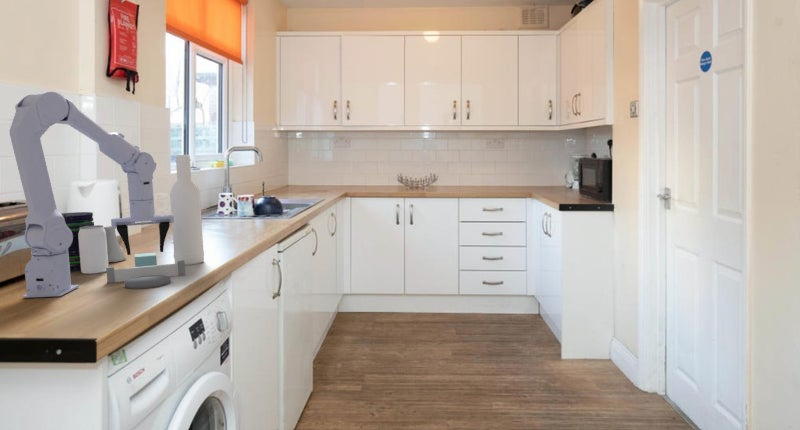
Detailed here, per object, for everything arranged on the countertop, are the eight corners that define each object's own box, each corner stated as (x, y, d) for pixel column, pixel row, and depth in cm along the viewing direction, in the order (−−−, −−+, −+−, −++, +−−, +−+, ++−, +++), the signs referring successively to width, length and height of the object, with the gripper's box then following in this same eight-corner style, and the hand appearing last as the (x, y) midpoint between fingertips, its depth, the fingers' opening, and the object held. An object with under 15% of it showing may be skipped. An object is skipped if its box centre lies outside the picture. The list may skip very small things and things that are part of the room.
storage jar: (74, 265, 170) (70, 212, 168) (105, 265, 168) (101, 212, 166) (47, 272, 160) (42, 216, 159) (79, 272, 158) (75, 216, 157)
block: (156, 271, 158) (155, 252, 157) (157, 274, 153) (156, 255, 153) (136, 273, 156) (134, 254, 155) (136, 276, 151) (134, 257, 151)
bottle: (168, 264, 167) (160, 155, 164) (188, 259, 174) (181, 154, 171) (190, 265, 164) (183, 154, 161) (210, 260, 171) (204, 154, 168)
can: (78, 275, 155) (74, 228, 153) (84, 270, 161) (80, 226, 160) (106, 273, 156) (102, 227, 155) (110, 268, 163) (107, 224, 161)
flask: (117, 258, 180) (115, 224, 179) (131, 260, 176) (128, 226, 175) (93, 261, 174) (90, 227, 173) (106, 264, 170) (104, 229, 169)
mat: (163, 287, 137) (163, 283, 137) (117, 289, 137) (117, 285, 136) (175, 278, 147) (175, 274, 147) (133, 280, 146) (132, 276, 146)
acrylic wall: (184, 274, 152) (184, 260, 152) (185, 275, 151) (184, 261, 151) (107, 281, 146) (106, 267, 145) (107, 283, 144) (106, 268, 144)
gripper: (171, 197, 159) (174, 248, 161) (110, 200, 153) (114, 253, 155) (172, 198, 153) (176, 251, 154) (109, 202, 147) (113, 257, 148)
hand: (145, 252), depth 154 cm, fingers open, 7 cm apart
